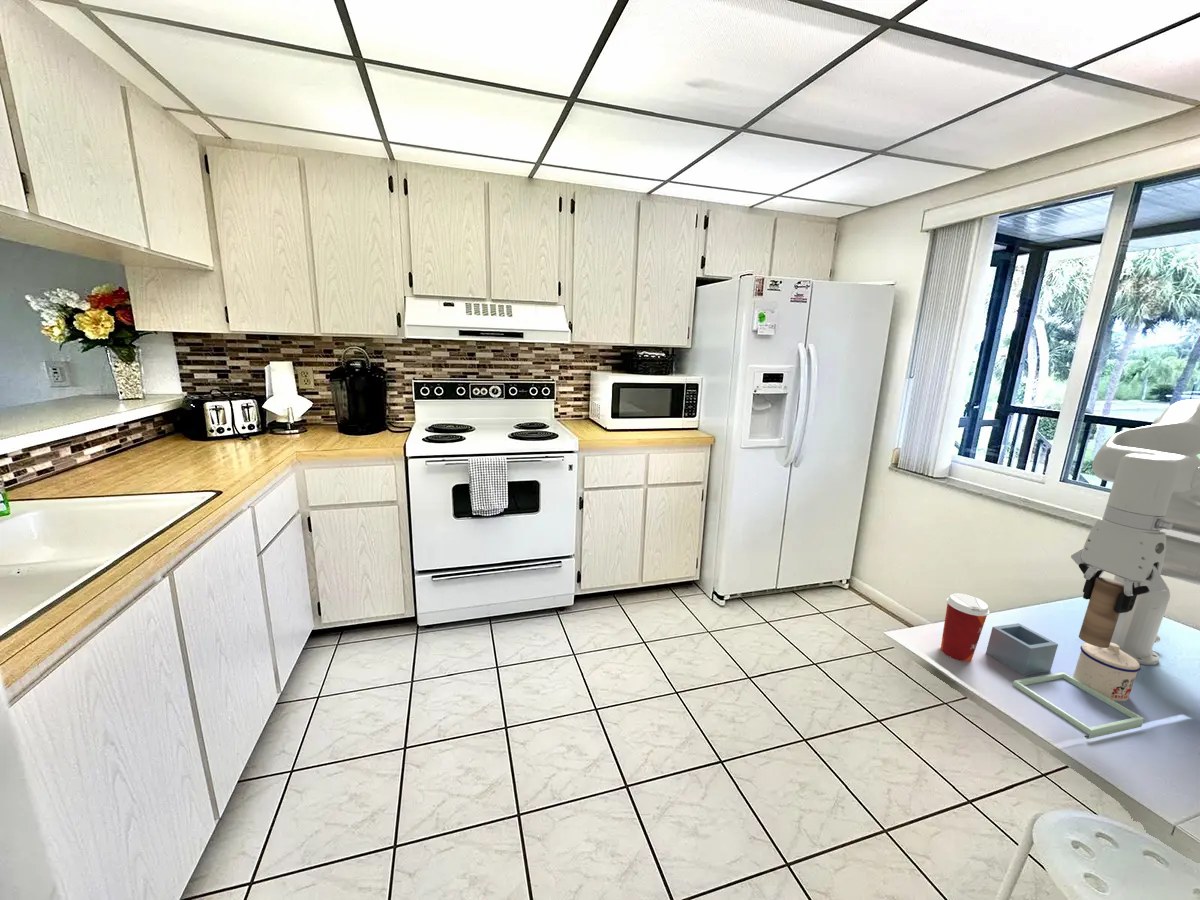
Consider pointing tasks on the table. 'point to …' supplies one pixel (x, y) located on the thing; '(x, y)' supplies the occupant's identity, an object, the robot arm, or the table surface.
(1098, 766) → the table surface
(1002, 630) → the deep square box
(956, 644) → the coffee cup
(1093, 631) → the peg
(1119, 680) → the teacup with lid
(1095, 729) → the tray
